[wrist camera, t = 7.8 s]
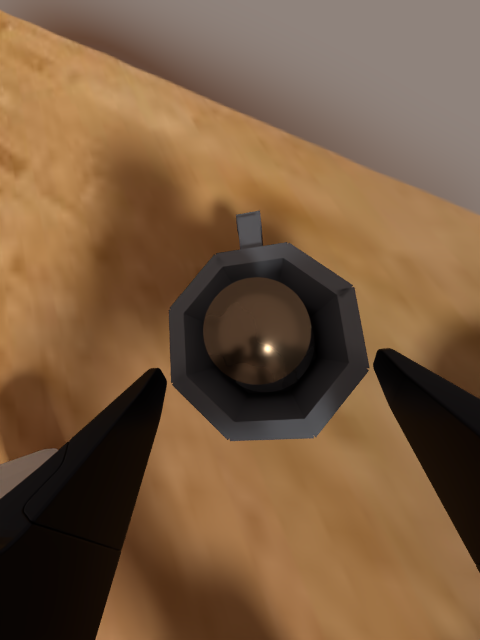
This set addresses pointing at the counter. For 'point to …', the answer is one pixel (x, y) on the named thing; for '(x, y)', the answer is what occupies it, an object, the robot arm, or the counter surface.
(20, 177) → the counter surface
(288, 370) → the plunger
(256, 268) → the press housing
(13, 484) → the shot glass
